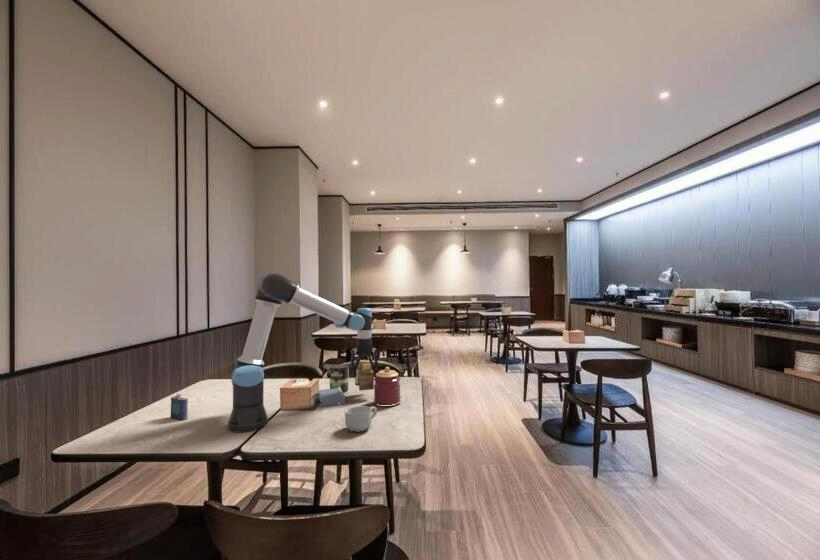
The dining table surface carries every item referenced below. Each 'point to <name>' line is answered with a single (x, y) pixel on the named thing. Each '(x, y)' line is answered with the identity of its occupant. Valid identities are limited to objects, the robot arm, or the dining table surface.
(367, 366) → the crate
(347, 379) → the coffee can
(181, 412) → the flask
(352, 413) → the teacup
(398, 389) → the canister
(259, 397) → the robot arm
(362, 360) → the crate
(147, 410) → the dining table surface
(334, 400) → the dock
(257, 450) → the dining table surface
